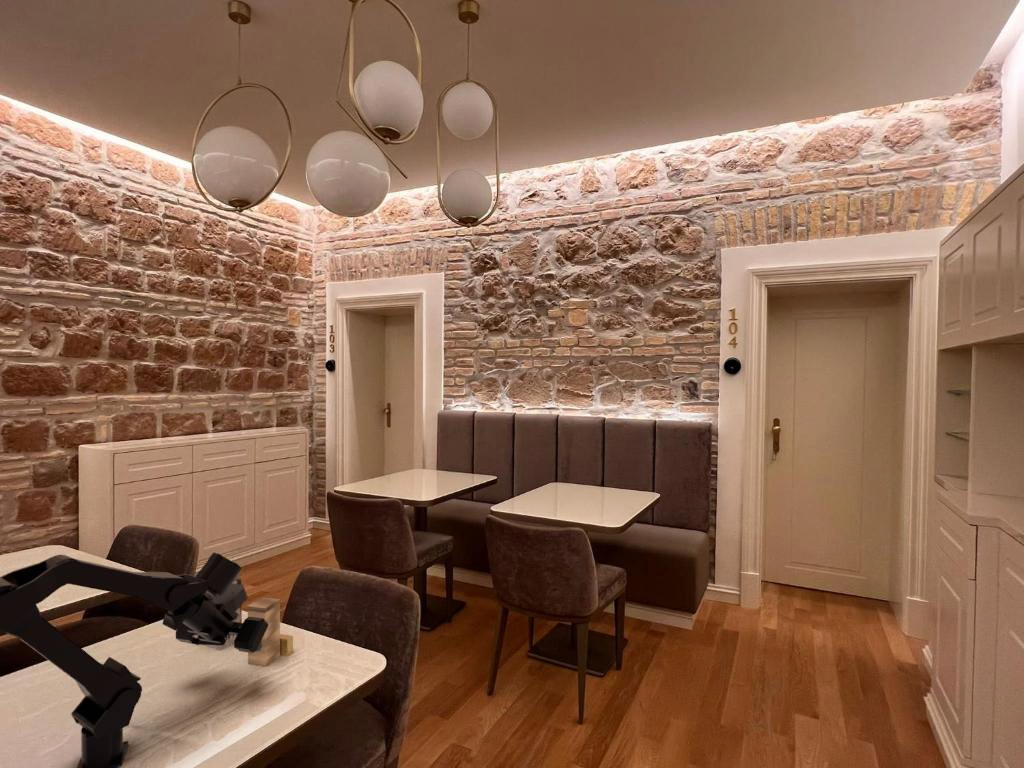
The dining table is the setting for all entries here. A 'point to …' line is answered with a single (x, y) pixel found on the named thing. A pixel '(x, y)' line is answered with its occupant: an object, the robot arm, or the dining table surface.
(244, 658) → the dining table surface
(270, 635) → the block
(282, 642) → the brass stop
